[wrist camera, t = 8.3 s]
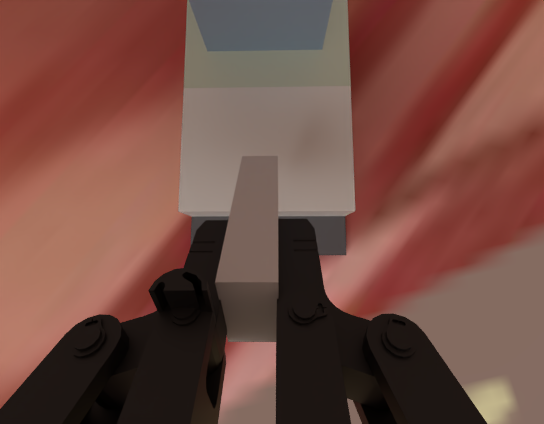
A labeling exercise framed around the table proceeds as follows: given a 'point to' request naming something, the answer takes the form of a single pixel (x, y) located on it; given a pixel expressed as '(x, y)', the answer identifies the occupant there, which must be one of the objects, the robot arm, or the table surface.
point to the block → (262, 24)
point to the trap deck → (271, 128)
